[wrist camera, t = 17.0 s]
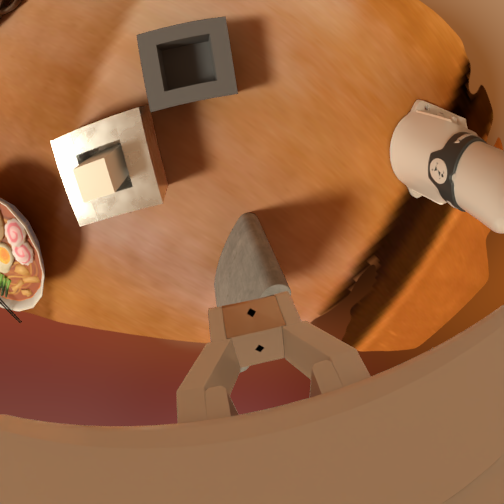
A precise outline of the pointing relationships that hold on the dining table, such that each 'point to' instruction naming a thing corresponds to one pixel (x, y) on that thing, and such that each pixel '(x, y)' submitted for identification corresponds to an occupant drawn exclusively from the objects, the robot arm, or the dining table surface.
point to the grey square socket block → (187, 63)
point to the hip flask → (247, 266)
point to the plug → (101, 173)
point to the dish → (1, 7)
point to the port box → (136, 156)
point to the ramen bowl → (19, 261)
